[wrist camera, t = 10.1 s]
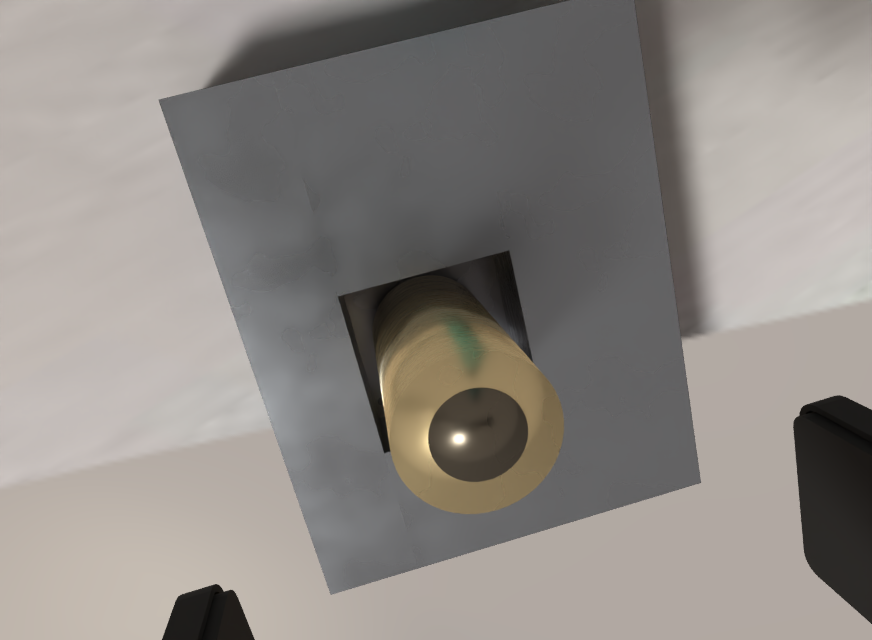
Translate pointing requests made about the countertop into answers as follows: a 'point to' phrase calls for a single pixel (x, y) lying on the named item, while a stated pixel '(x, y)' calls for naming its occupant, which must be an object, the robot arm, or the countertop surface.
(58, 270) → the countertop surface
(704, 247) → the countertop surface
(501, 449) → the bushing
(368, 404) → the jig
